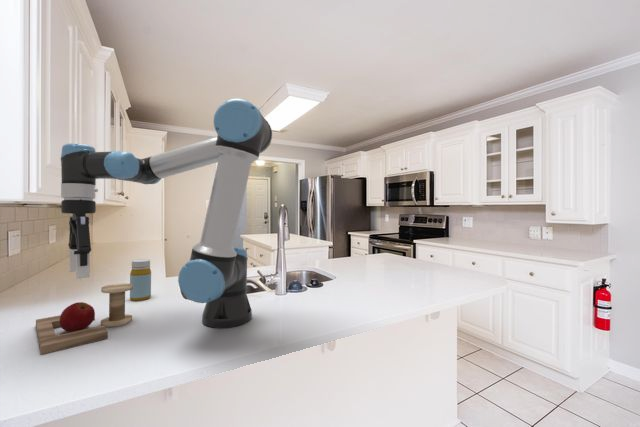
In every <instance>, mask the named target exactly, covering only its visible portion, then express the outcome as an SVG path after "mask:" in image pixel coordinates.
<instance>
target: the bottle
mask: <svg viewBox="0 0 640 427" xmlns="http://www.w3.org/2000/svg"><path fill="white" fill-rule="evenodd" d="M129 273H130V274H129V283H130V284H133V289H131V290H129V299H130V300H131V301H133V302H143V301H146V300H148V299H150V298H151V297H152V270H151V260H150V259H149V258H144V259H143V258H142V259H141V258H139V259H134V260H131V271H130V272H129Z"/></svg>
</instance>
